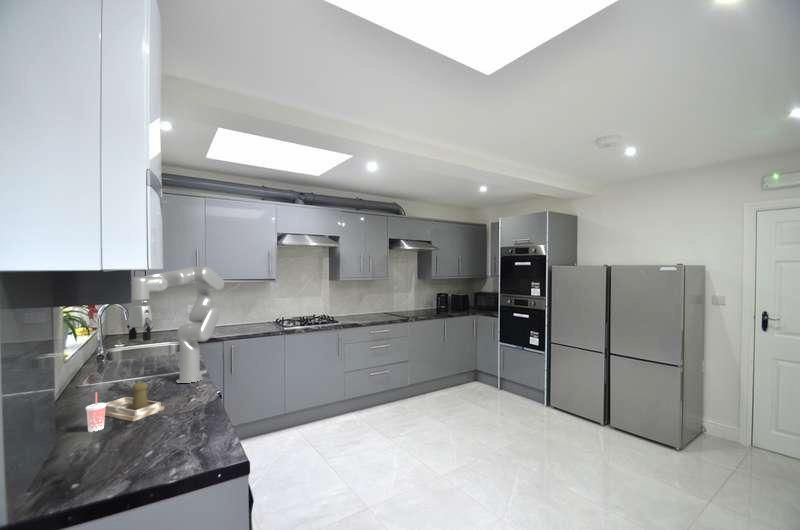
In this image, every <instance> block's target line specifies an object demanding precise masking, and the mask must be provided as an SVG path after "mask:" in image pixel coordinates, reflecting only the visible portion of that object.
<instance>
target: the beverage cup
mask: <svg viewBox="0 0 800 530" xmlns="http://www.w3.org/2000/svg"><path fill="white" fill-rule="evenodd" d="M106 404H107V402H98V392H95V403H93V404H92V403H91V404H90V405H87V406H86V407H85V411H86V417H87V418H86V419H87V431H88V432H89V433H94V432H93V431H95V432H98V430H99V431H101V430H103V429H104V427H105V420H106V416H105V408H106Z"/></svg>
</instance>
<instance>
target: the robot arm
mask: <svg viewBox="0 0 800 530" xmlns="http://www.w3.org/2000/svg"><path fill="white" fill-rule="evenodd" d="M133 278H134V280H133V282H132V303H130V302H129V310H128V311H129V312H128V320H126V323H125V324H126V328H127V331H128V340H130V341H131V340H137V338H138V337H137V335H138V333H137V329H142V330H143V332H142V341H143V342H146V341H151V339H152V338H151V336H152V335H151V333H152V330H153V328H154V327H153V326H154V324H155V323H154V322H153V315H152V310H151V309H152V307H151V306H150V293H155V292H156V293H158V292H163V291H165V290H166V289H167V288H173V287H180V286H185V285H187V284H191V283H194V288H195V291H196V295H197V297H196V301H195V302H194V305H193V307H192V308H191V311H190V313H189V315H188V319H189V321H190V322H191V323H189V322H188V323H184V324H182V325H180V326H179V327H178V329H177V339H178V345H179V378H178V379H176V381H175V382H177V383H190V384H192V383H191V382H195V383H198V382H200V380H201V381H203V376H202V375H206V374H207V373H208V370H207V369H204V370H200V368H201V367H200V365H201V364H200V362H201V360H200V357H201V356H200V351H201V350H200V345H199V343H198V342H205V341H208V340H209V339H210V338H211V337H212V334H213V333H214V330H215V328H216V326H217V324H218V322H219V319H220V310H219V309H218V308H217V307H215V306H213V303H214V299H213V296H212V294H211V292H219V291H222V290H223V289H224V288H225V281H224V279H223V278H222V277H221V276H220V275H219V274H218V273H217V272H216V271H214V270H213V269H212V268H210V267H209V266H188V267H185V268H181V269H175V270H171V271H170V270H169V271H165V272H161V273H160V272H159V273H154V274H149V275H144V276H140V277H138V276H137V277H133ZM197 381H198V382H197ZM177 383H176V384H177Z"/></svg>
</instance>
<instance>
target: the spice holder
mask: <svg viewBox="0 0 800 530" xmlns="http://www.w3.org/2000/svg"><path fill="white" fill-rule="evenodd" d="M147 401H148V406H147V407H144V408H141V409H138V410H131V408H132V402H133V397H130V396H124V397H121V398H118V399H115V400H111V401H108V402H106V403H107V404H106V408H105V417H108V416H109V418H113V417H114V419H117V420H118V419H119V420H123V421H124V420H125V421H128V422H135V421H138V420H141V419H144V418H145V417H149V416H151V415H154V414H157V413H159V411H160V412H162V411H164V409H165V406H164V405H161V403H162V402H160V401H156V400H155V401H153V400H148V399H147Z"/></svg>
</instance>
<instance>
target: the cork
mask: <svg viewBox="0 0 800 530" xmlns="http://www.w3.org/2000/svg"><path fill="white" fill-rule="evenodd" d="M131 388H132V389H131V390H132V392H133V397H132V398H133V402H132V408H131V410H138V409H141V408H144V407H147V406H148V401H147V400H148V396H147V389H148V383H146V382H137V383H135V384H133V386H132V387H131Z"/></svg>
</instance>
